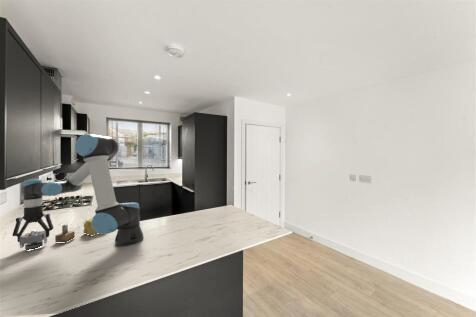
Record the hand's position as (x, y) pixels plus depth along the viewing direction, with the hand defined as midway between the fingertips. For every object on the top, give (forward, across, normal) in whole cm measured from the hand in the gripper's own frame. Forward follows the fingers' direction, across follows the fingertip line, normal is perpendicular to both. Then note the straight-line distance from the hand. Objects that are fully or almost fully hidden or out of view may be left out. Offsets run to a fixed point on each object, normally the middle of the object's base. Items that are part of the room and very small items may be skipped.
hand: (34, 244), depth 112 cm
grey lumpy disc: (-3, 0, 0) cm, 3 cm away
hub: (+2, 0, 0) cm, 2 cm away
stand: (+2, -13, -3) cm, 14 cm away
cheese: (+2, -28, -9) cm, 30 cm away
